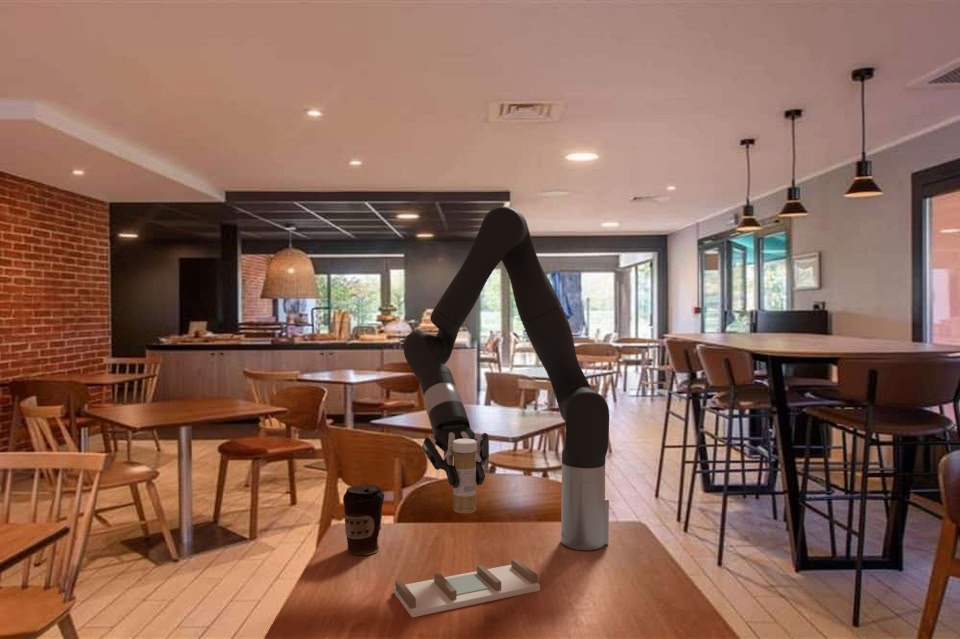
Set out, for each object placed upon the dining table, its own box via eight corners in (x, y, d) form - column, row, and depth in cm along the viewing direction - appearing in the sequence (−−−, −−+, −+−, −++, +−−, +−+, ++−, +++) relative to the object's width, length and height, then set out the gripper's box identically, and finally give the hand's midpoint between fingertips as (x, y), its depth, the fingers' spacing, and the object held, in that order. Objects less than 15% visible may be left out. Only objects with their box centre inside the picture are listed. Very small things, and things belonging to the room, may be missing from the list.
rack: (513, 569, 122) (513, 556, 122) (539, 590, 113) (539, 576, 113) (393, 592, 112) (393, 578, 112) (412, 617, 103) (412, 602, 103)
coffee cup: (374, 560, 126) (374, 495, 126) (335, 557, 128) (335, 493, 128) (389, 544, 135) (389, 483, 134) (352, 541, 136) (352, 481, 136)
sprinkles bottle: (473, 505, 124) (474, 437, 123) (478, 513, 119) (478, 442, 119) (450, 507, 123) (450, 438, 122) (454, 515, 118) (454, 443, 118)
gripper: (416, 401, 124) (438, 478, 114) (482, 397, 130) (509, 469, 120) (408, 423, 129) (428, 499, 119) (472, 418, 135) (497, 490, 125)
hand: (468, 484), depth 119 cm, fingers closed on sprinkles bottle, 4 cm apart
